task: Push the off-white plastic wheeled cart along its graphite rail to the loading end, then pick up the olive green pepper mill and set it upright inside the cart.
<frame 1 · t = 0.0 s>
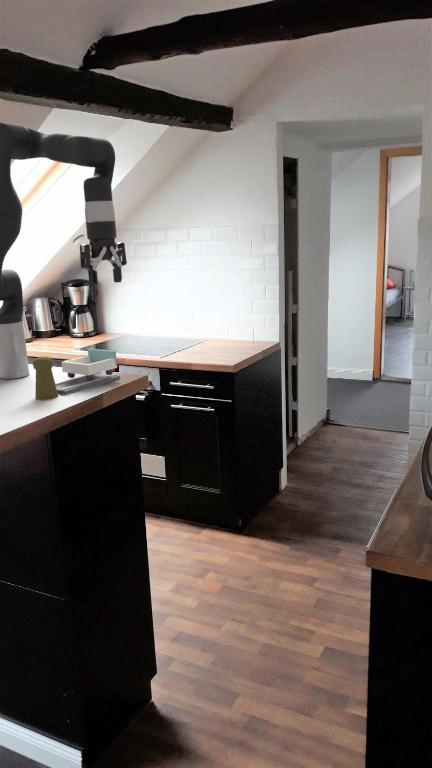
hand: (106, 283, 159), 29 cm above the countertop, fingers open, 8 cm apart
rail board: (82, 384, 176), on the countertop
cart: (89, 364, 177), point 5 cm above the countertop, slide at 0.0 cm
olive green pepper mill: (46, 397, 163), on the countertop
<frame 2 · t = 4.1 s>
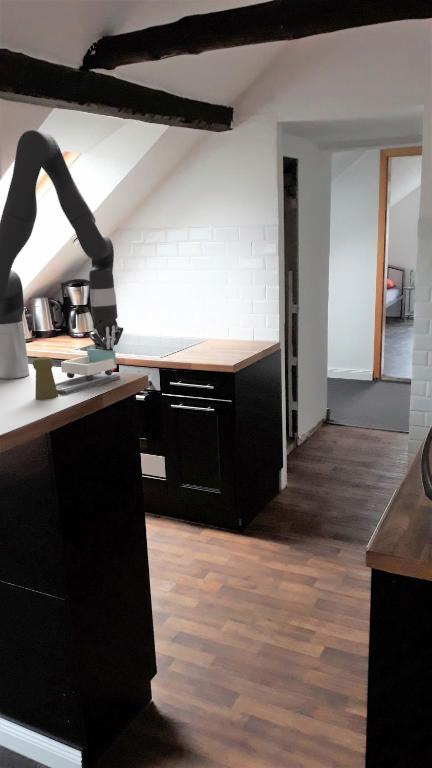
hand: (108, 360, 183), 5 cm above the countertop, fingers closed
cart: (88, 365, 177), point 5 cm above the countertop, slide at 0.3 cm, touching gripper
everything else where it was.
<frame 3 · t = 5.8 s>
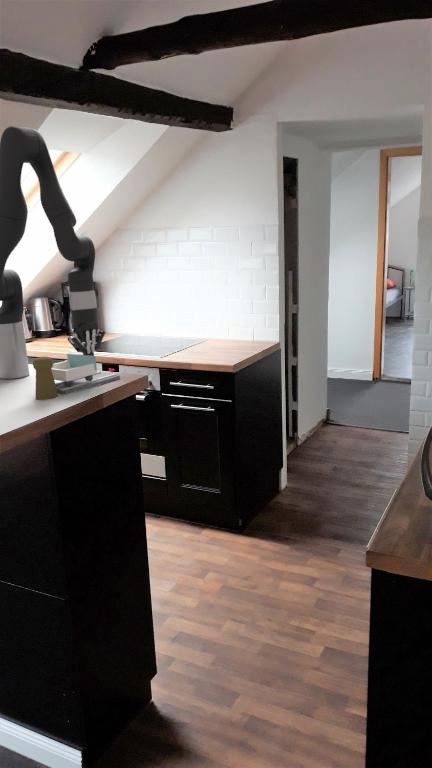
hand: (89, 365, 177), 5 cm above the countertop, fingers closed
cart: (68, 370, 171), point 5 cm above the countertop, slide at 8.1 cm, touching gripper
everything else where it was.
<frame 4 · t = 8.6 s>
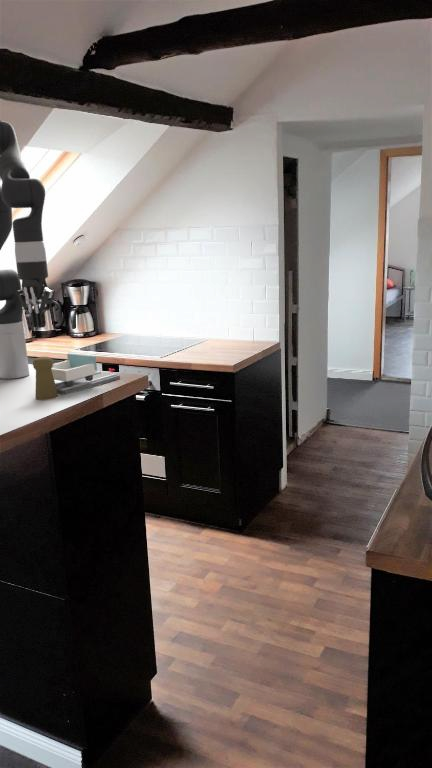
hand: (39, 327, 159), 19 cm above the countertop, fingers closed
cart: (68, 370, 171), point 5 cm above the countertop, slide at 8.0 cm
everything else where it was.
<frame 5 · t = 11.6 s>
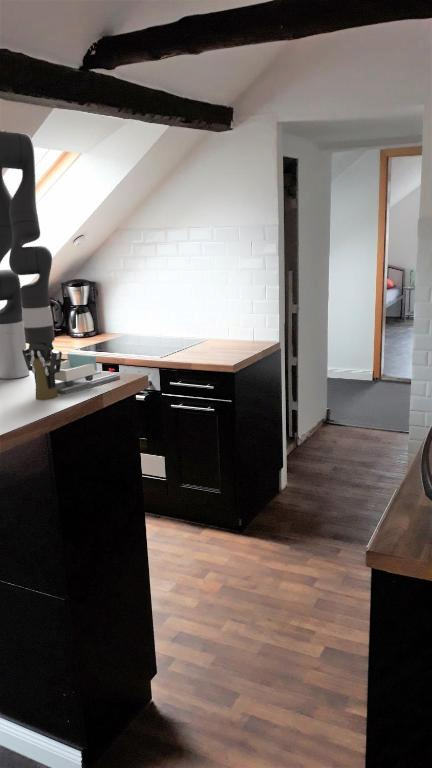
hand: (45, 387, 162), 3 cm above the countertop, fingers closed on olive green pepper mill, 4 cm apart
olive green pepper mill: (47, 397, 163), on the countertop, touching gripper
everything else where it was.
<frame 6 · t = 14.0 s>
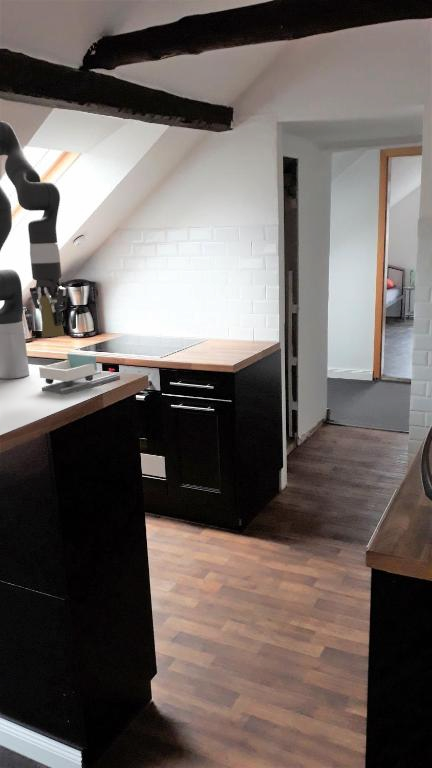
hand: (52, 324, 164), 19 cm above the countertop, fingers closed on olive green pepper mill, 4 cm apart
olive green pepper mill: (53, 335, 165), point 16 cm above the countertop, touching gripper
everything else where it was.
when the fingers open (9 cm above the countertop, at t = 16.6 s): olive green pepper mill drops 1 cm, resting on cart.
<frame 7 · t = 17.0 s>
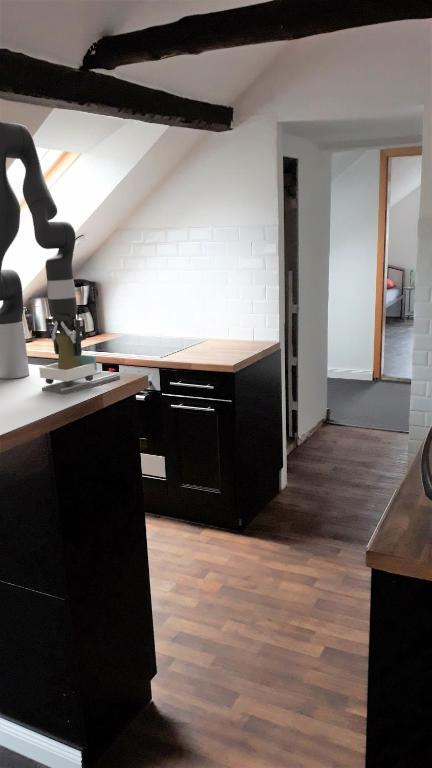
hand: (68, 354, 170), 10 cm above the countertop, fingers open, 7 cm apart
cart: (68, 370, 171), point 5 cm above the countertop, slide at 8.0 cm, touching olive green pepper mill
olive green pepper mill: (69, 372, 172), point 5 cm above the countertop, touching cart
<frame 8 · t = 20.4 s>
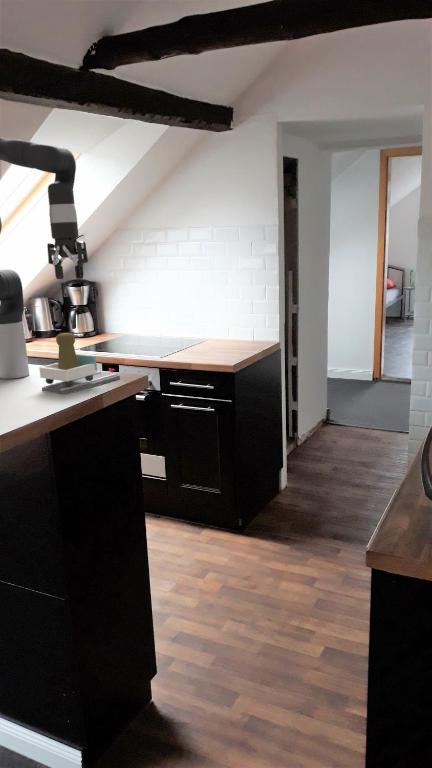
hand: (69, 278, 175), 30 cm above the countertop, fingers open, 8 cm apart
nothing on the countertop moved.
at the end: cart slide at 8.0 cm; olive green pepper mill 0.7 cm off-centre on the cart, point 2.8 cm above the cart's base; olive green pepper mill tilted 0° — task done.
